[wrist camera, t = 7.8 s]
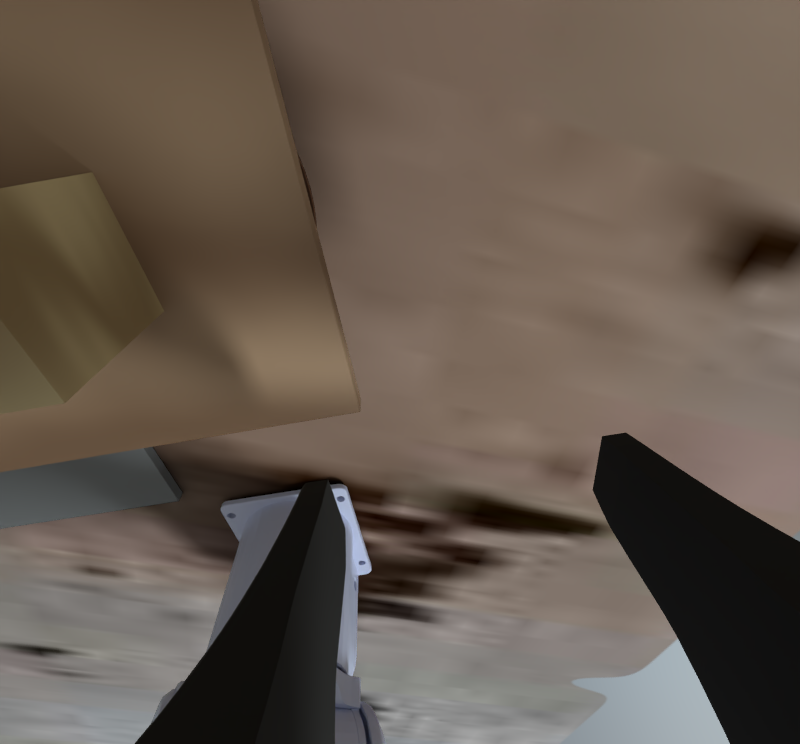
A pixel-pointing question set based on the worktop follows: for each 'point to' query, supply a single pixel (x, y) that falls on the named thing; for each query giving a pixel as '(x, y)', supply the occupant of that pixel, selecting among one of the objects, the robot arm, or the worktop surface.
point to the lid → (153, 234)
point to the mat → (85, 487)
